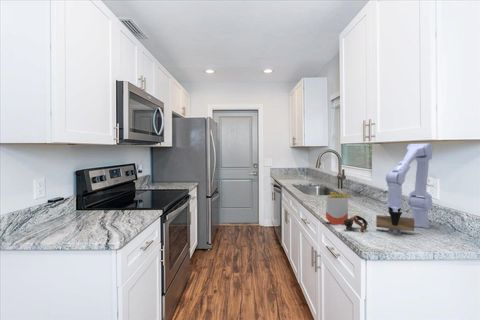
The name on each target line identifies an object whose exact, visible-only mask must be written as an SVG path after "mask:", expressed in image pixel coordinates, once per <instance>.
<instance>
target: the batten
mask: <svg viewBox="0 0 480 320" xmlns="http://www.w3.org/2000/svg"><path fill="white" fill-rule="evenodd" d="M375 217H376V220H375V221H376V222H375V223H376V225H375V226H376V228H381V229H388V230H389V229H398V230H400V231H408V232H415V226H414V218H412V217H405V216H404V217H403V216H400V218H399V223H398V226H394V225H392V220H391V216H390V215H383V214H382V215H381V214H376V216H375Z"/></svg>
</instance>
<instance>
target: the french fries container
mask: <svg viewBox="0 0 480 320" xmlns="http://www.w3.org/2000/svg"><path fill="white" fill-rule="evenodd" d="M348 201H349V199H348V193H347V192H344V193H342V192H341V191H339V194H337V192H336V191H330V195H327V197H326V205H325V218H326V220H327V221H328V222H329V223H330V224H332V225H338V226H339V225H341V226H342V225H344V221H345V220H346V219H349V211H348V210H349V209H348V208H349V207H348V206H349V202H348Z"/></svg>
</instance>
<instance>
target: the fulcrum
mask: <svg viewBox="0 0 480 320" xmlns="http://www.w3.org/2000/svg"><path fill="white" fill-rule="evenodd" d="M388 234H391V235H397V236H398V235H399V236H401V235H402V230H398V229H389V228H388Z"/></svg>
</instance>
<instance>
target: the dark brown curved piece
mask: <svg viewBox="0 0 480 320" xmlns="http://www.w3.org/2000/svg"><path fill="white" fill-rule="evenodd" d="M361 221H362V222H361ZM354 223H355V225H358V226H359V227H360V232H361V233H363V232H365V231H366V230H367V229H368V226H369V225H368V224H369V223H368V221H367V220H366V219H365V218H364V217H362V216H360V215H356V214H355V215H354V216H351V217H349V218H348V219H346V220H345V221H344V224H343V225H344V226H345V228H346V230H351V228H352V227H353V224H354Z"/></svg>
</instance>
